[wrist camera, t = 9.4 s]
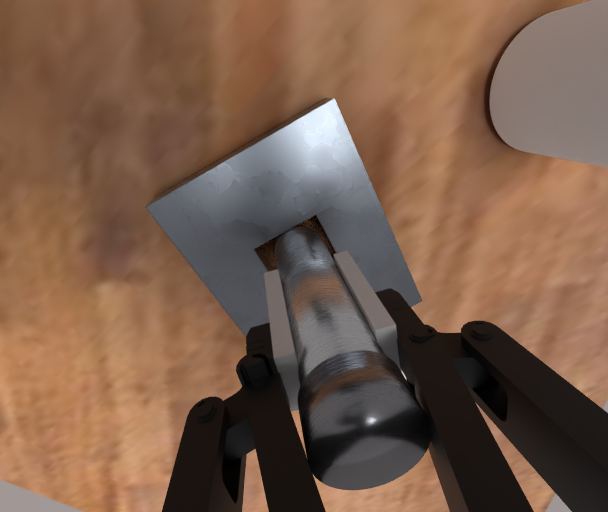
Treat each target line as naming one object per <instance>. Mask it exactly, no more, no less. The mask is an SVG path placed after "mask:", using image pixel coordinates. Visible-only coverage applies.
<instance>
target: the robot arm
mask: <svg viewBox="0 0 608 512" xmlns="http://www.w3.org/2000/svg"><path fill="white" fill-rule="evenodd" d="M333 255H334V260H335V264H336V266H337V268H338V270H339V272H340V274H341V275H342V277H343V279H344V281H345V283H346V285H347V287H348V288H349V290H350V292H351V294H352V296H353V298H354V299H355V301H356V303H357V305H358V307H359V309H360V311H361V312H362V314H363V316H364V318H365V320H366V322H367V323H368V325H369V327H370V329H371V331H372V333H373V335H374V336H375V338H376V340H377V342H378V343H379V345H380V346H381V348H382V350H383V352H384V354H385V356H387V357H389V358H390V359H392V360H393V361H394V362H395V363H396V364H397V366H398V367H399V369H400V370H401V372H402V371H403V373H404V375H405V376H406V378H407V383H408V384H409V386H410V388H411V390H412V391H413V393H414V395H415V397H416V398H417V400H418V402H419V404H420V405H421V407H422V409H423V411H424V412H425V414H426V416H427V418H428V419H429V424H430V435H431V441H430V444H429V447H428V449H429V452H430V454H431V457H432V460H433V463H434V466H435V469H436V472H437V475H438V478H439V481H440V484H441V486H442V489H443V492H444V495H445V498H446V501H447V504H448V507H449V510H450V512H534V511H533V509H532V508H531V506H530V504H529V502H528V500H527V498H526V496H525V495H524V493H523V491H522V489H521V487H520V485H519V483H518V482H517V480H516V478H515V476H514V474H513V472H512V470H511V468H510V467H509V465H508V463H507V461H506V459H505V457H504V455H503V454H502V452H501V450H500V448H499V446H498V444H497V442H496V440H495V439H494V437H493V435H492V433H491V431H490V429H489V427H488V426H487V424H486V422H485V420H484V418H483V416H482V414H481V412H480V411H479V409H478V407H477V405H476V403H477V404H478V406H479V407H480V408H481V409H482V410H483V411H484V412H485V413H486V415H487V416H488V417H489V418H490V419H491V420H492V421H493V423H494V424H495V425H496V426H497V427H498V428H499V429H500V430H501V432H502V433H503V434H504V435H505V436H506V437H507V438H508V440H509V441H510V442H511V443H512V444H513V445H514V446H515V447H516V449H517V450H518V451H519V452H520V453H521V454H522V455H523V457H524V458H525V459H526V460H527V461H528V462H529V463H530V464H531V466H532V467H533V468H534V469H535V470H536V471H537V472H538V474H539V475H540V476H541V477H542V478H543V479H544V480H545V481H546V483H547V484H548V485H549V486H550V487H551V488H552V489H553V491H554V492H555V493H556V494H557V495H558V496H559V497H560V498H561V499H562V501H563V502H564V503H565V504H566V505H567V506H568V508H569V509H570V510H571V511H572V512H608V413H607V412H605V411H604V410H603V409H602V408H600V407H599V406H598V405H597V404H595V403H594V402H593V401H592V400H590V399H589V398H588V397H586V396H585V395H584V394H583V393H581V392H580V391H579V390H578V389H576V388H575V387H574V386H572V385H571V384H570V383H569V382H567V381H566V380H565V379H564V378H562V377H561V376H560V375H558V374H557V373H556V372H555V371H553V370H552V369H551V368H550V367H548V366H547V365H546V364H544V363H543V362H542V361H541V360H539V359H538V358H537V357H536V356H534V355H533V354H532V353H530V352H529V351H528V350H527V349H525V348H524V347H523V346H522V345H520V344H519V343H518V342H516V341H515V340H514V339H513V338H511V337H510V336H509V335H508V334H506V333H505V332H504V331H502V330H501V329H500V328H499V327H497V326H496V325H494V324H492V323H489V322H486V321H472V322H468V323H466V324H465V325H463V327H462V328H461V333H439V332H437V331H436V330H435V329H434V328H433V327H431V326H429V325H424V324H423V323H422V321H421V320H420V319H419V317H418V316H417V315H416V314H415V312H414V311H413V310H412V308H411V307H410V306H409V305H408V303H407V302H406V301H405V300H404V298H403V297H402V296H401V294H400V293H399V292H397V291H395V290H393V289H391V288H389V289H385V290H382V291H378V292H374V290H373V289H372V287H371V286H370V284H369V283H368V281H367V280H366V278H365V277H364V275H363V274H362V272H361V271H360V269H359V268H358V266H357V265H356V263H355V261H354V260H353V258H352V257H351V255H350V254H349V252H348V251H343V252H340V253H336V254H333ZM264 279H265V287H266V296H267V304H268V313H269V323H266V324H262V325H258V326H255V327H251V328H250V330H249V332H248V334H247V336H246V344H247V346H246V349H247V355H246V356H244V357H243V358H242V359H241V360H240V361H239V363H238V365H237V367H236V372H237V375H238V377H239V379H240V382H241V384H242V388H241V389H240V390H239V391H238V392H237V393H236V394H234V395H233V396H231V397H229V398H227V399H226V400H224V401H222V399H221V398H218V397H208V398H205V399H202V400H201V401H199V402H198V403H196V404H195V405H194V406H193V408H192V409H191V410H190V412H189V414H188V416H187V420H186V423H185V427H184V431H183V435H182V438H181V442H180V446H179V450H178V453H177V457H176V461H175V465H174V468H173V472H172V476H171V479H170V483H169V487H168V491H167V494H166V498H165V502H164V506H163V509H162V512H242V504H243V492H244V479H245V467H246V454H247V453H249V452H251V451H252V450H254V449H255V448H256V452H257V457H258V462H259V467H260V471H261V476H262V481H263V486H264V490H265V495H266V500H267V505H268V509H269V512H326V511H325V509H324V506H323V503H322V500H321V497H320V494H319V491H318V489H317V486H316V483H315V480H314V477H313V474H312V471H311V469H310V466H309V463H308V460H307V457H306V454H305V451H304V448H303V446H302V443H301V440H300V437H299V434H298V431H297V428H296V426H295V423H294V420H293V417H292V414H291V411H295V410H299V409H298V400H297V399H298V392H299V389H300V382H299V377H298V361H297V356H296V351H295V346H294V341H293V337H292V332H291V327H290V322H289V317H288V312H287V307H286V302H285V297H284V292H283V287H282V282H281V278H280V274H279V271H278V269H277V270H273V271H269V272H266V273H264ZM475 402H476V403H475ZM290 408H291V411H290Z"/></svg>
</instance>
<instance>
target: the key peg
mask: <svg viewBox="0 0 608 512" xmlns="http://www.w3.org/2000/svg"><path fill="white" fill-rule="evenodd" d="M274 255H275V260H276V265H277V269H278V271H279V274H280V278H281V282H282V287H283V292H284V297H285V302H286V307H287V312H288V317H289V322H290V327H291V332H292V337H293V341H294V346H295V351H296V356H297V361H298V377H299V382H300V389H299V392H298V399H297V400H298V409H299V415H300V420H301V426H302V432H303V437H304V443H305V448H306V454H307V460H308V463H309V466H310V469H311V471H312V473H313V475H314V476H315V477H316V478H317V479H318V480H319V481H321V482H322V483H324V484H326V485H328V486H330V487H333V488H337V489H343V490H362V489H368V488H373V487H377V486H380V485H383V484H386V483H388V482H390V481H393V480H395V479H397V478H398V477H400V476H402V475H403V474H405V473H406V472H408V471H409V470H410V469H411V468H413V467H414V466H415V465H416V464H417V463H418V462H419V461H420V459H421V458H422V457H423V456H424V454H425V453H426V451H427V449H428V447H429V444H430V441H431V435H430V424H429V419H428V418H427V416H426V414H425V412H424V411H423V409H422V407H421V405H420V404H419V402H418V400H417V398H416V397H415V395H414V393H413V391H412V390H411V388H410V386H409V384H408V383H407V381H406V379H405V377H404V376H403V374H402V372H401V370H400V369H399V367H398V366H397V364H396V363H395V362H394V361H393V360H392V359H390V358H389V357H387V356H385V354H384V352H383V350H382V348H381V346H380V345H379V343H378V342H377V340H376V338H375V336H374V335H373V333H372V331H371V329H370V327H369V325H368V323H367V322H366V320H365V318H364V316H363V314H362V312H361V311H360V309H359V307H358V305H357V303H356V301H355V299H354V298H353V296H352V294H351V292H350V290H349V288H348V287H347V285H346V283H345V281H344V279H343V277H342V275H341V274H340V272H339V270H338V268H337V266H336V264H335V262H334V260H333V258H332V257H331V255H330V253H329V251H328V249H327V247H326V246H325V244H324V242H323V240H322V238H321V237H320V235H319V234H318V233H317V232H316V231H315V230H313V229H311V228H309V227H304V226H296V227H293V228H291V229H289V230H287V231H286V232H284V233H282V234H281V235H280V236H279V237H278V239H277V241H276V243H275V247H274Z"/></svg>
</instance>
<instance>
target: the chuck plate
mask: <svg viewBox="0 0 608 512" xmlns="http://www.w3.org/2000/svg"><path fill="white" fill-rule="evenodd" d="M146 208H147V210H148V211H149V212H150V214H151V215H152V216H153V217H154V219H155V220H156V221H157V223H158V224H159V225H160V226H161V228H162V229H163V230H164V232H165V233H166V234H167V236H168V237H169V238H170V239H171V241H172V242H173V243H174V245H175V246H176V247H177V248H178V250H179V251H180V252H181V254H182V255H183V256H184V257H185V259H186V260H187V261H188V263H189V264H190V265H191V267H192V268H193V269H194V270H195V272H196V273H197V274H198V276H199V277H200V278H201V279H202V281H203V282H204V283H205V285H206V286H207V287H208V289H209V290H210V291H211V292H212V294H213V295H214V296H215V298H216V299H217V300H218V301H219V303H220V304H221V305H222V307H223V308H224V309H225V311H226V312H227V313H228V314H229V316H230V317H231V318H232V320H233V321H234V322H235V323H236V325H237V326H238V327H239V329H240V330H241V331H242V333H243V334H244V335H245V336H247V334H248V332H249V330H250V328H251V327H255V326H258V325H262V324H266V323H269V313H268V304H267V296H266V287H265V279H264V273H266V272H269V271H273V270H275V269H274V268H273V266H272V265H271V263H270V262H269V260H268V259H267V257H266V256H265V254H264V252H263V251H262V249H261V248H260V245H262V244H264V243H266V242H268V241H269V240H271V239H273V238H275V237H277V236H278V235H280V234H282V233H284V232H286V231H287V230H289V229H291V228H293V227H295V226H296V225H298V224H300V223H302V222H304V221H305V220H307V219H309V218H311V217H313V216H314V215H316V217H317V219H318V221H319V223H320V224H321V226H322V228H323V230H324V232H325V234H326V236H327V237H328V239H329V241H330V243H331V245H332V247H333V249H334V251H335V252H336V253H340V252H343V251H348V252H349V254H350V255H351V257H352V258H353V260H354V261H355V263H356V265H357V266H358V268H359V269H360V271H361V272H362V274H363V275H364V277H365V278H366V280H367V281H368V283H369V284H370V286H371V287H372V289H373V290H374V292H378V291H382V290H385V289H389V288H391V289H393V290H395V291H397V292H399V293H400V294H401V296H402V297H403V298H404V300H405V301H406V302H407V303H408V305H409V306H410V307H412V306H414V305H416V304H418V303H419V302H421V301H422V299H421V296H420V294H419V292H418V290H417V287H416V285H415V283H414V280H413V278H412V276H411V273H410V271H409V269H408V267H407V264H406V262H405V260H404V257H403V255H402V253H401V250H400V248H399V246H398V244H397V241H396V239H395V237H394V234H393V232H392V230H391V227H390V225H389V223H388V220H387V218H386V216H385V214H384V211H383V209H382V207H381V204H380V202H379V200H378V197H377V195H376V193H375V191H374V188H373V186H372V184H371V181H370V179H369V177H368V174H367V172H366V170H365V168H364V165H363V163H362V161H361V158H360V156H359V154H358V151H357V149H356V147H355V145H354V142H353V140H352V138H351V135H350V133H349V131H348V128H347V126H346V124H345V122H344V119H343V117H342V115H341V112H340V110H339V108H338V105H337V103H336V101H335V99H334V98H325V99H323V100H322V101H320V102H318V103H316V104H315V105H313V106H311V107H309V108H308V109H306V110H304V111H303V112H301V113H299V114H297V115H296V116H294V117H292V118H290V119H289V120H287V121H285V122H283V123H282V124H280V125H278V126H277V127H275V128H273V129H271V130H270V131H268V132H266V133H264V134H263V135H261V136H259V137H258V138H256V139H254V140H252V141H251V142H249V143H247V144H245V145H244V146H242V147H240V148H238V149H237V150H235V151H233V152H232V153H230V154H228V155H226V156H225V157H223V158H221V159H219V160H218V161H216V162H214V163H212V164H211V165H209V166H207V167H206V168H204V169H202V170H200V171H199V172H197V173H195V174H193V175H192V176H190V177H188V178H187V179H185V180H183V181H181V182H180V183H178V184H176V185H174V186H173V187H171V188H169V189H167V190H166V191H164V192H162V193H161V194H159V195H157V196H155V197H154V199H153V200H152V201H151V202H150V203H149V204H148V205H147V206H146ZM333 260H334V257H333ZM334 262H335V260H334Z"/></svg>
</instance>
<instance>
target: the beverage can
mask: <svg viewBox="0 0 608 512" xmlns="http://www.w3.org/2000/svg"><path fill="white" fill-rule="evenodd" d="M489 102H490V114H491V118H492V122H493V125H494V127H495V129H496V131H497V133H498V134H499V136H500V137H501V138H502V140H503V141H504V142H505V143H507V144H508V145H509V146H511V147H513V148H514V149H517V150H520V151H523V152H528V153H534V154H539V155H544V156H550V157H555V158H560V159H566V160H571V161H576V162H582V163H587V164H592V165H598V166H603V167H608V0H591V1H588V2H584V3H581V4H577V5H574V6H570V7H567V8H563V9H560V10H556V11H553V12H550V13H547V14H545V15H543V16H541V17H539V18H537V19H536V20H534V21H533V22H531V23H530V24H529V25H527V26H526V27H525V28H524V29H523V30H522V31H521V32H520V33H519V34H518V35H517V36H516V37H515V38H514V39H513V40H512V42H511V43H510V44H509V46H508V47H507V49H506V50H505V52H504V53H503V55H502V57H501V59H500V61H499V63H498V65H497V68H496V70H495V73H494V76H493V80H492V84H491V89H490V101H489Z"/></svg>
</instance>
